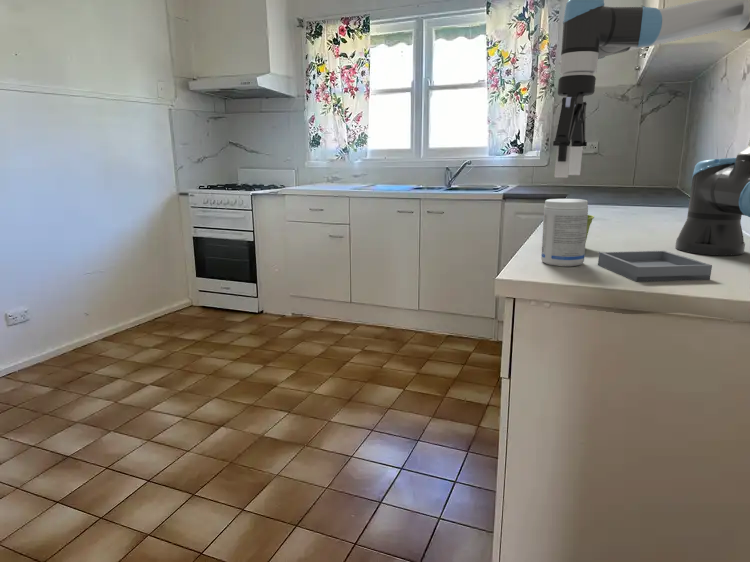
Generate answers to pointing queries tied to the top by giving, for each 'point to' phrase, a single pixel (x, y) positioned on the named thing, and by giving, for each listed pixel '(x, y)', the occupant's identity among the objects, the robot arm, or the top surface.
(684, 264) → the tray
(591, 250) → the top surface
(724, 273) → the top surface
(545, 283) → the top surface
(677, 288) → the top surface
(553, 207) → the supplement tub
